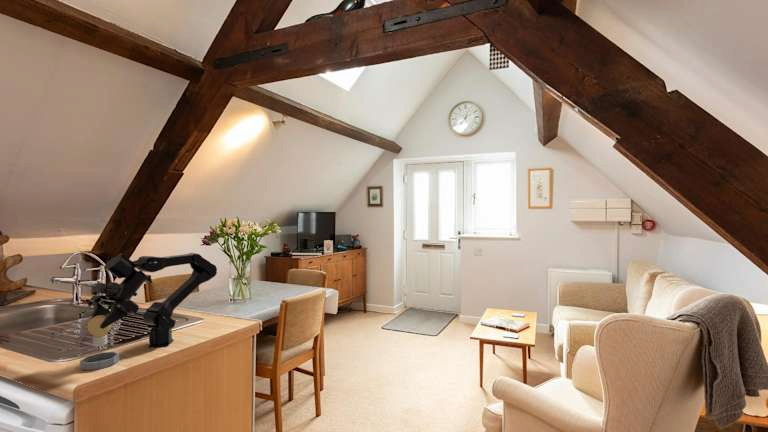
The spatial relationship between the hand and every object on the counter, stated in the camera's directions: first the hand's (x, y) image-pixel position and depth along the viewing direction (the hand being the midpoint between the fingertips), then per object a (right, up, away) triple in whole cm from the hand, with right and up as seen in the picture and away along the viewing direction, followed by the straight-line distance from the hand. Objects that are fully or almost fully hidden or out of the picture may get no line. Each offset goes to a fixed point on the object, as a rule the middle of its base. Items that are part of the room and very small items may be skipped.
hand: (95, 326), depth 122 cm
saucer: (+1, -13, +1) cm, 13 cm away
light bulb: (+1, -7, +1) cm, 7 cm away
